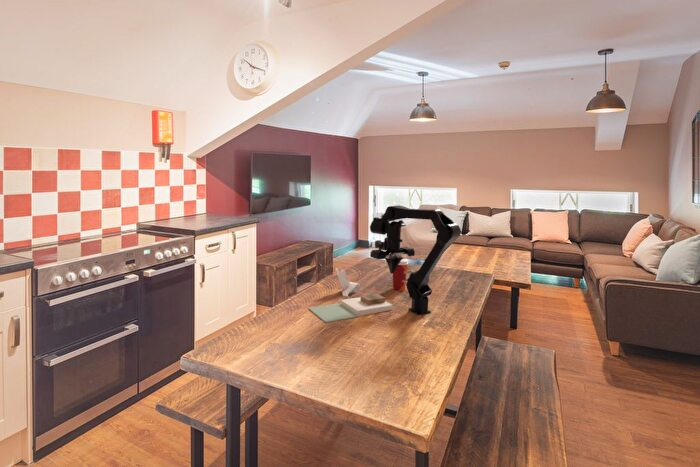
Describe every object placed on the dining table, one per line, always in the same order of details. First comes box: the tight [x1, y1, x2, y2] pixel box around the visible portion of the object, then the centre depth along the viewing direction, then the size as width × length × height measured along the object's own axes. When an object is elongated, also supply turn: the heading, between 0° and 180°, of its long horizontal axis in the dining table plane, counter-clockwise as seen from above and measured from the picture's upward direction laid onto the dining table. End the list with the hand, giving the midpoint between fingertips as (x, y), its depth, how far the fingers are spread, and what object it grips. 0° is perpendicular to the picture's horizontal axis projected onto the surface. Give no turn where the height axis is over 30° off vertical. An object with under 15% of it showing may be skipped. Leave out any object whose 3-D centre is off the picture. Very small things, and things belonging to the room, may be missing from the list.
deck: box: [340, 296, 393, 317], centre depth 167 cm, size 14×16×2 cm
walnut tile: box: [360, 293, 386, 305], centre depth 168 cm, size 8×6×2 cm
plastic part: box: [334, 267, 362, 297], centre depth 185 cm, size 8×10×12 cm
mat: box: [308, 302, 360, 323], centre depth 160 cm, size 16×14×1 cm
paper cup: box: [392, 258, 410, 292], centre depth 192 cm, size 8×8×14 cm
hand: (391, 273), depth 171 cm, fingers closed
